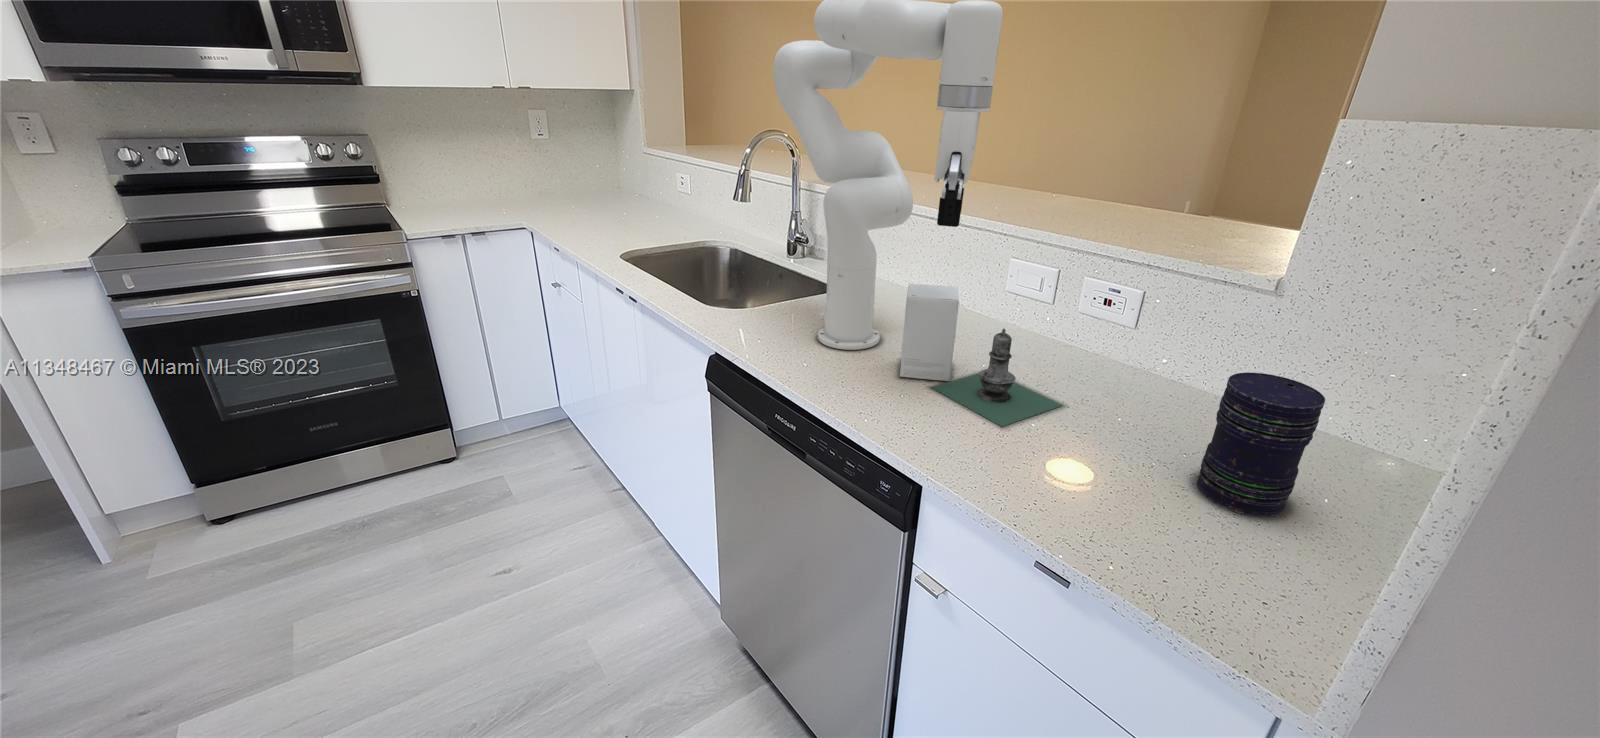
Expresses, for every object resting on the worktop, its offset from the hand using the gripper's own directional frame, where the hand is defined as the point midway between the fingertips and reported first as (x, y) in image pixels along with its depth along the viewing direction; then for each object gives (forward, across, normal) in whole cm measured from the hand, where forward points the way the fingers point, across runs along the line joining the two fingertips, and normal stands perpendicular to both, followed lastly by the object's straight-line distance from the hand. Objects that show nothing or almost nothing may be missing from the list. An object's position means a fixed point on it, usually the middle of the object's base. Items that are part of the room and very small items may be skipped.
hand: (949, 219), depth 100 cm
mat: (+28, +2, +11) cm, 31 cm away
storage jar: (+28, +23, +41) cm, 54 cm away
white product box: (+29, -6, -1) cm, 30 cm away
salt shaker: (+28, +2, +11) cm, 31 cm away
